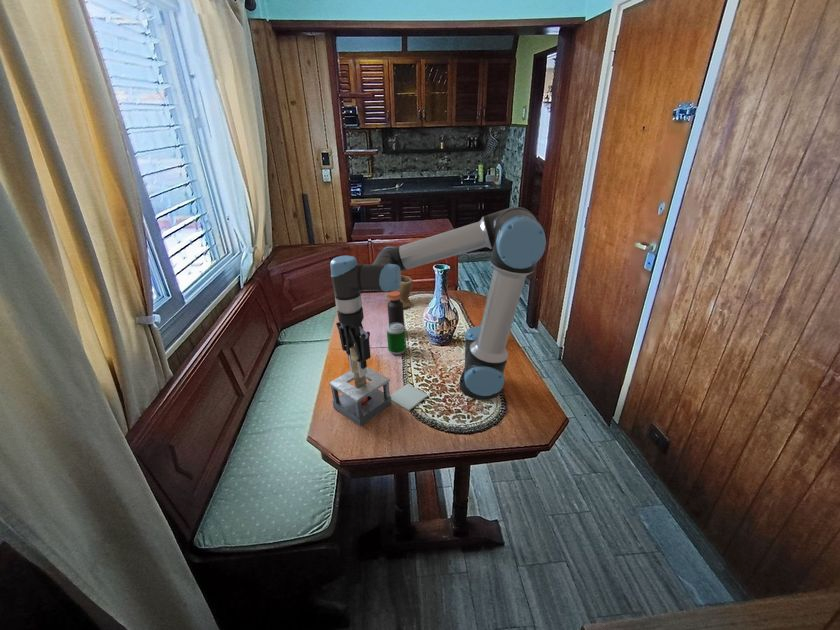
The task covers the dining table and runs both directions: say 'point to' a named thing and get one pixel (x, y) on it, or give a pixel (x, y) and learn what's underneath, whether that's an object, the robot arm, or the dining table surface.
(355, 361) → the dowel
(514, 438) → the dining table surface
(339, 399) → the grey open frame cage
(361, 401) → the plunger
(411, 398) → the coaster
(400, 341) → the soda can
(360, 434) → the dining table surface
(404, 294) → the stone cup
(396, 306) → the bottle
